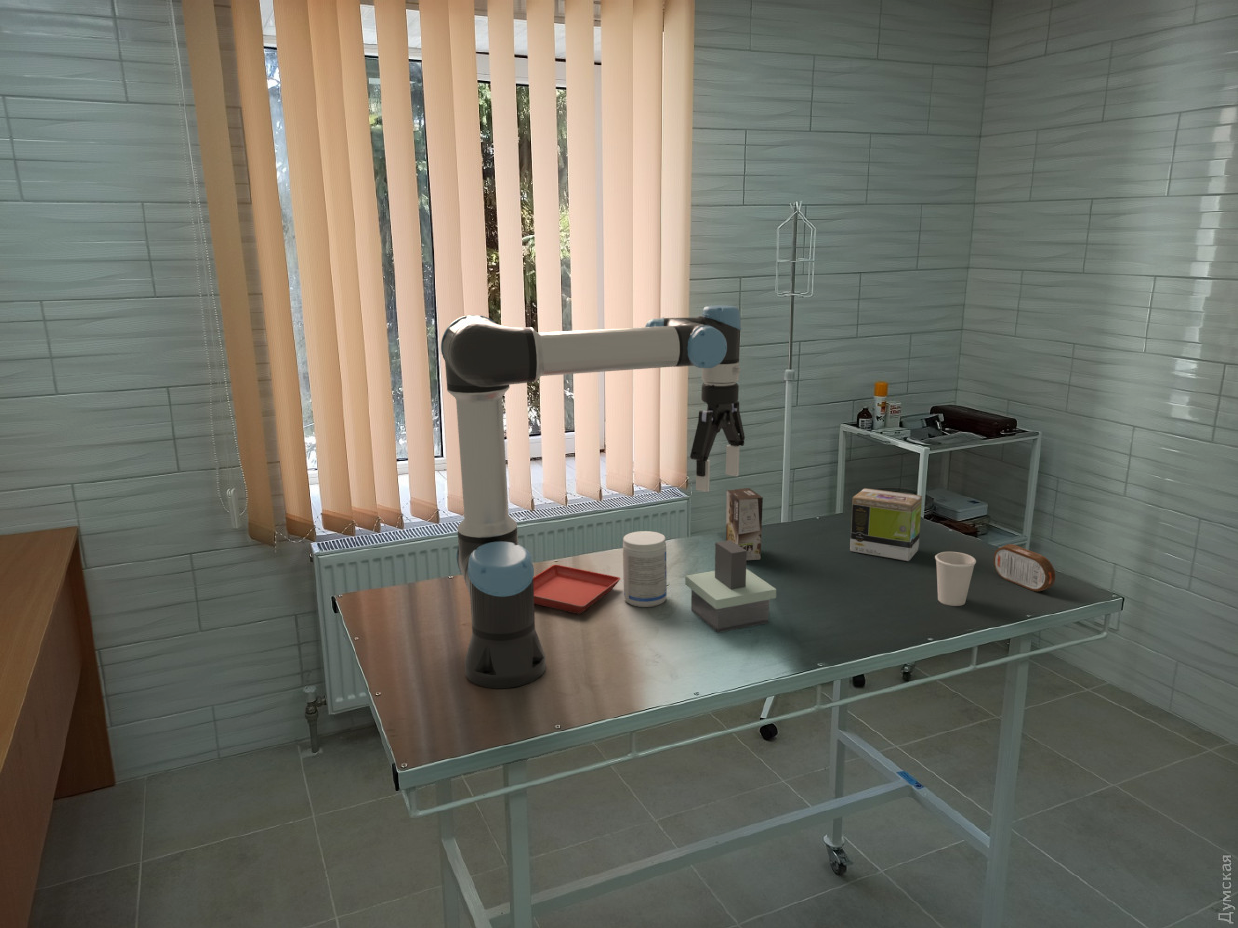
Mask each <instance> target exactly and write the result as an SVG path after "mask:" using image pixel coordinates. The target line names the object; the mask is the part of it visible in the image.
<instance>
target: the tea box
mask: <svg viewBox="0 0 1238 928" xmlns="http://www.w3.org/2000/svg"><path fill="white" fill-rule="evenodd" d="M922 502H923V496H922V495H920V494H919V495H918V494H912V493H902V492H897V491H896V492H895V491H889V490H881V489H873V488H868V487H867V488H866V487H864V488H863V489H861V490H860V491H859V492H858V493H857V494H855V495H854V496H852V504H851V519H850V520H851V523H850V524H851V525H850V540H849V541H850V542H849V543H850V545H849V546H850V547H849V550H850V552H853V553H854V552H855V553H861V554H866V555H872V556H877V557H882V558H887V559H888V558H889V559H894V560H899V561H904V562H906V561H907V562H910V561H911V559H912V558H913V557H914V556H915V554H916V553H917V552H918V551H919V546H920V533H921V517H922V507H923V506H922Z"/></svg>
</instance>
